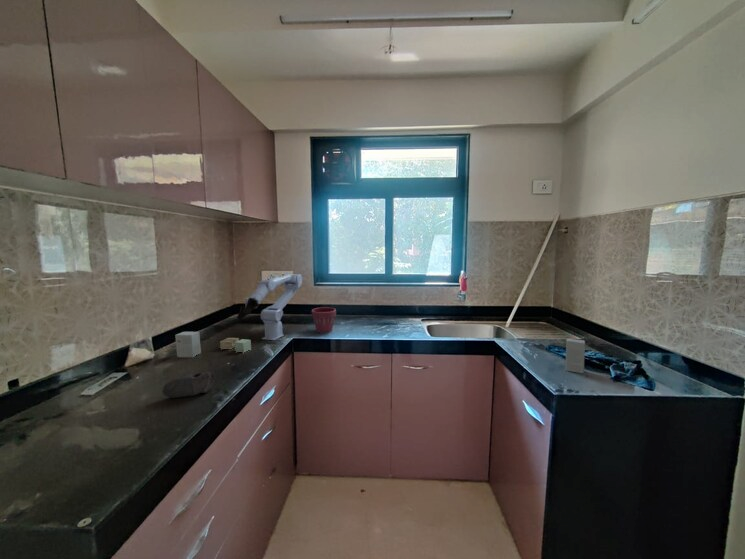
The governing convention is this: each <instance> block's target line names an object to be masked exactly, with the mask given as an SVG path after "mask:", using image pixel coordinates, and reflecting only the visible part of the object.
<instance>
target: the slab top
mask: <svg viewBox="0 0 745 559" xmlns="http://www.w3.org/2000/svg"><path fill="white" fill-rule="evenodd" d="M239 340H240V338H239V337H226V338H225V339H222V340H220V341H219V344H220V345H219V347H220V346H234V345H235V342H236V341H239Z"/></svg>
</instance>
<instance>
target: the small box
mask: <svg viewBox="0 0 745 559" xmlns="http://www.w3.org/2000/svg"><path fill="white" fill-rule="evenodd" d="M174 336H175V348H176V358H195V357H196V355H197V356H198V354H199V355H200V354H202V350H201V347H202V346H201V338H200V331H182V332H180V333H177V334H175V335H174Z"/></svg>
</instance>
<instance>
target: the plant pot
mask: <svg viewBox="0 0 745 559" xmlns="http://www.w3.org/2000/svg"><path fill="white" fill-rule="evenodd" d="M336 316H337V310H336V308H334V307H324V306H322V307H321V306H320V307H316V308H312V309H311V317H312V318H313V322H314V326H315V329H316V330H315V331H316V333H319V332H320V333H319V334H322V333H323V334H324V333H325V332H327V333H331V332H332V331H333V327H334V323H335V322H334V321H335V317H336ZM330 331H331V332H330Z"/></svg>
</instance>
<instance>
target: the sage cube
mask: <svg viewBox="0 0 745 559" xmlns="http://www.w3.org/2000/svg"><path fill="white" fill-rule="evenodd" d="M248 350H250V351H252V341H251V339H246V338H245V339H243V338H242V339H239V341H236V342H235V348H234V352H235V351H236V352H235V353H237V352H243V353H242V354H245V353H244V352H246V351H248ZM248 352H249V351H248ZM246 353H247V352H246Z"/></svg>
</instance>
